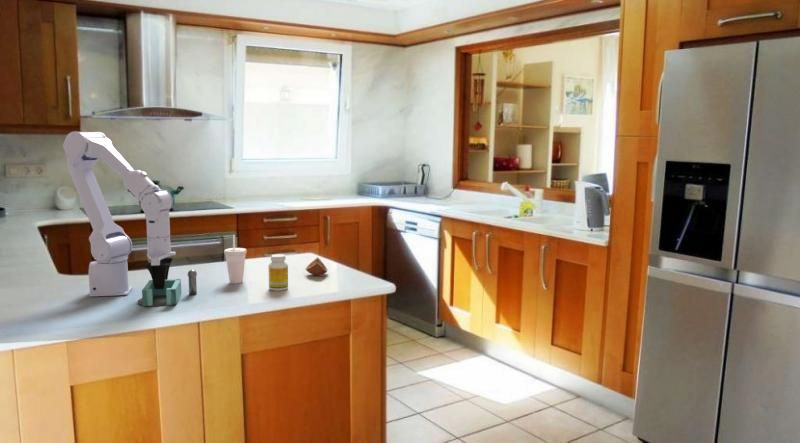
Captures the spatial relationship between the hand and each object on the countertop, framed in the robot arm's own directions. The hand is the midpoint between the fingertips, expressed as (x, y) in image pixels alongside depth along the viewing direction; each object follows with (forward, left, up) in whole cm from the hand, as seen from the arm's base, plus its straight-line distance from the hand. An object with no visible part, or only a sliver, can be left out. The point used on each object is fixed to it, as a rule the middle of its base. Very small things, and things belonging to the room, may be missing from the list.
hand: (160, 286), depth 169 cm
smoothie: (+19, +13, -3) cm, 23 cm away
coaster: (0, -5, -3) cm, 6 cm away
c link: (+1, -5, -2) cm, 6 cm away
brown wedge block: (+43, +18, -3) cm, 47 cm away
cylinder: (+8, +1, -3) cm, 9 cm away
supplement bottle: (+31, +3, -3) cm, 31 cm away
